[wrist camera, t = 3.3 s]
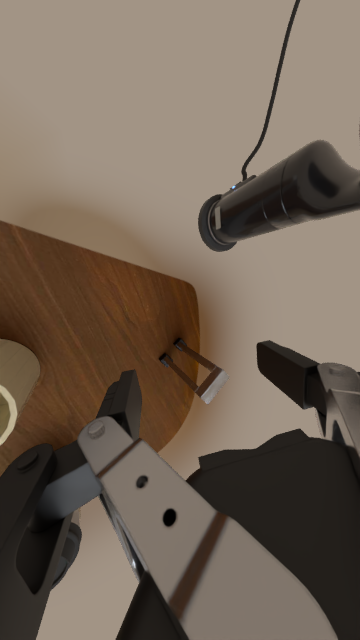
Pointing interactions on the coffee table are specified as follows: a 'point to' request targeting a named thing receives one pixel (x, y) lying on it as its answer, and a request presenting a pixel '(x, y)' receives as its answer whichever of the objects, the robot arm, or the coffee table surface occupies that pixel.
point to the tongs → (217, 374)
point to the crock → (15, 383)
